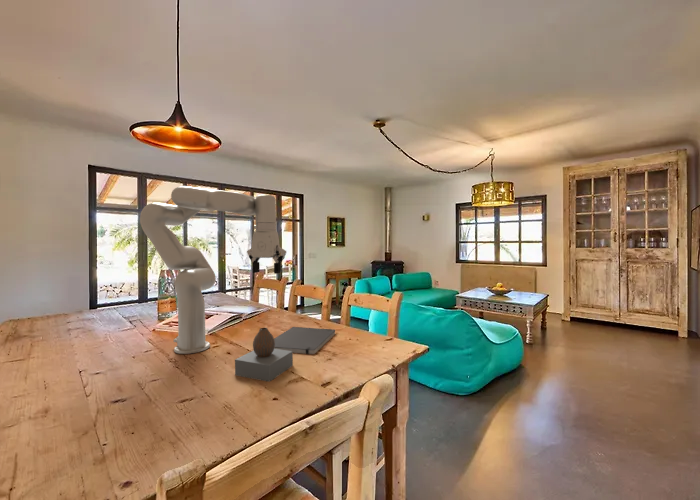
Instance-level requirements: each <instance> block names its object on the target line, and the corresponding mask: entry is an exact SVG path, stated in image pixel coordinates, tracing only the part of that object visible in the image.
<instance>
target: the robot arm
mask: <svg viewBox="0 0 700 500" xmlns="http://www.w3.org/2000/svg"><path fill="white" fill-rule="evenodd" d="M170 199H171V201H172V203H173V204H169V203H163V202H152V203H148V204H146V205H145V206H144V207H143V208H142V210H141V212H140V216H139V222H140V226H141V229H142V231H143V233H144V234H145V236H146V237H147V238H148V240H149V241H150V242H151V244H152V245H153V246H154V248H155V250H156V251H157V254H158V255H159V257H160V258H161V259H162V261H163V263H164V264H165V265H166V267H167V268H168V269H170V270H171V271H180V270H181V271H180V272H179V273H178V274H177V275H176V276H175V279H174V283H173V284H174V289H175V290H174V291H175V294H176V299H177V323H178V324H177V325H178V326H177V327H178V333H177V334H178V336H176V338H173V342H174V343H176V346H175V347H174V349H173V351H174V352H175V354H180V355H188V354H196V353H200V352H204V351H206V350H208V349H209V348H210V346H211V343H210V342H209V341H206V339H207V338H206V307H205V306H206V303H205V298H204V296H203V293H202V291H206V290H209V289H211V288H212V287H213V286H214V285H215V283H216V274H215V271H214V269H213V268H212V267H211V265H210V264H209V262H208V260H207V259H206V257H205V256H204V254H203V253H202V251H201V250H200V249H198V248H196V247H195V246H192V245H183V244H182V243H181V242H180V240H179V239H178V237H177V236H176V234H175V233H174V232H173V231H172V230H170V228H168V226H173V227H174V226H181V225H183V224H185V223H186V222H188V221H189V220H191V218H192V217H194V216H195V215H197V214H199V212H200V211H203V212H205V211H206V212H215V211H217V212H226V213H233V214H240V215H243V216H244V215H245V216H255V224H254V225H253V228H254V230H255V231H253V235H252V241H251V248H250V249H248V250H247V251H246V253H247V255H248V258H249V260H250V262H251V263H252V273H254V274H255V273H256V274H257V273H260V259H261V258H262V259H271V258H272V259H273V261H274V263H273V274H275V275H276V274H281V271H282V265H281V264H282V263H283V260H284V259H285V257H286V254H287V250H285V249H284V248H282V247H281V244H280V239H279V232H278V231H277V207H276V206H277V201H276V200H277V199H276V197H275V195H272V194H259V195H257V196H253V195H250V194H249V195H248V194H245V193H242V192H237V191H228V190H227V191H226V190H221V189H220V190H219V189H211V188H203V187H202V188H201V187H194V186H187V185H180V186H177V187H175V188H173V189H172V192H171V194H170Z"/></svg>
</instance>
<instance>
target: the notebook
mask: <svg viewBox="0 0 700 500" xmlns="http://www.w3.org/2000/svg"><path fill="white" fill-rule="evenodd" d="M335 334H336V329H333V328H332V329H331V328H319V327H317V328H316V327H299V326H292V327H290V328H289V329H288V330H285V331H284V332H282V333H281V334H279V335H277V336H276V337H274V341H275V347H274V349H281V350H288V351H293V353H295V354H304V355H305V354H306V355H315V354H316V353H317V352H318V351H319V350H320V349H321V348H322V347H323V346H324V345H326V343H328V342H329V340H331V339H332V338H333V337H334V336H335Z"/></svg>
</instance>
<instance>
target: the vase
mask: <svg viewBox="0 0 700 500" xmlns="http://www.w3.org/2000/svg"><path fill="white" fill-rule="evenodd" d="M274 338H275V337H274V336H273V334H272V333H271V332H270V330H269V329H268V327H260V328H259V331H258V332H257V333H256V335H255V337H254V339H253V342H252V351H253V350H254V352H255V354H256V355H257V356H258V357H267V356H270V355H271V354H272V352H273V350H274V347H275V341H274Z"/></svg>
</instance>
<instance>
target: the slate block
mask: <svg viewBox="0 0 700 500" xmlns="http://www.w3.org/2000/svg"><path fill="white" fill-rule="evenodd" d="M293 356H294V355H293V351H288V350H281V349H274V350H273V352H272V354H271V355H270V356H267V357H258V356H257V355H256V354H255V352H254V350H253V349H252V351H249V352H248V353H245V354H243V355H242V356H239V357H237V358H235V359H234V376H238V377H242V378H248V379H253V380H259V381H264V382H269V383H270V382H272V381H273V380H274V379H275V378H277V377H279V376H281V375H282V374H283V373H284V372H286V371H287V370H290V368H292V367H293V364H294V362H293V359H294V358H293Z"/></svg>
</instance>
